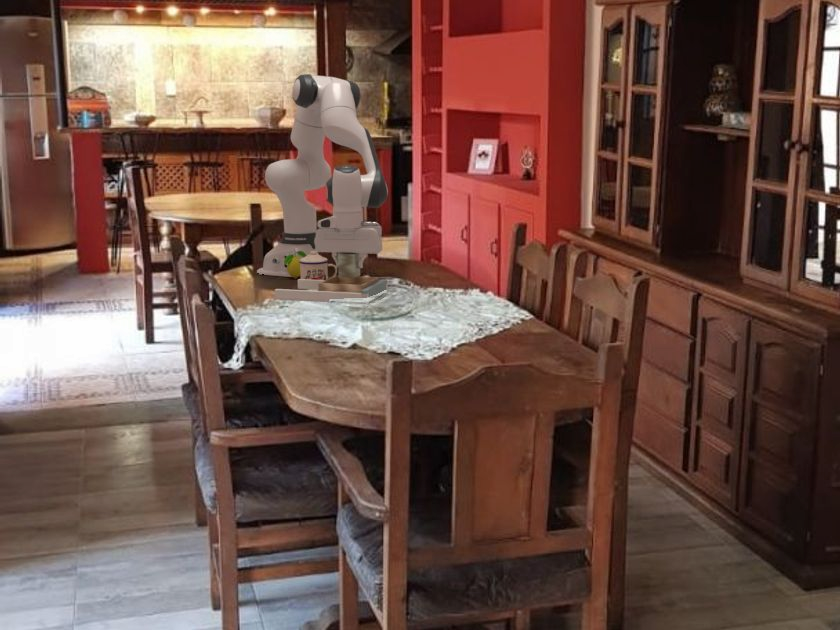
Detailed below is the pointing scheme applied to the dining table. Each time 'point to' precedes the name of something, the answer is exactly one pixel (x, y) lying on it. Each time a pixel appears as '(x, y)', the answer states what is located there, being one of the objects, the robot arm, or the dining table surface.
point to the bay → (326, 292)
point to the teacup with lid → (315, 267)
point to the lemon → (294, 264)
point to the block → (348, 265)
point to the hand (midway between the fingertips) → (349, 267)
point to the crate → (347, 284)
